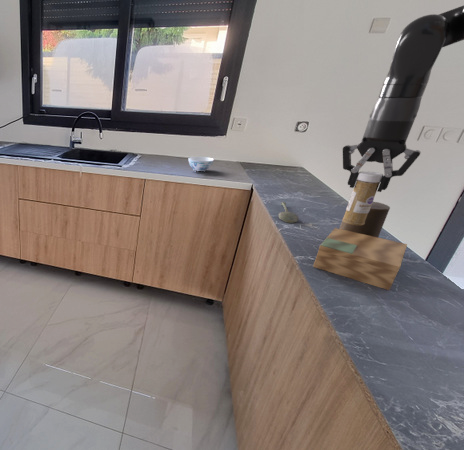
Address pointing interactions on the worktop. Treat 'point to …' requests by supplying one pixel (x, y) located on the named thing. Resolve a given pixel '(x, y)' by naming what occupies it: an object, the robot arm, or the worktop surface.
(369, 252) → the labeled wooden box
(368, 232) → the pillar candle
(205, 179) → the worktop surface
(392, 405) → the worktop surface
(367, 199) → the sprinkles bottle
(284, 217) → the soupspoon
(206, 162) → the chinaware
